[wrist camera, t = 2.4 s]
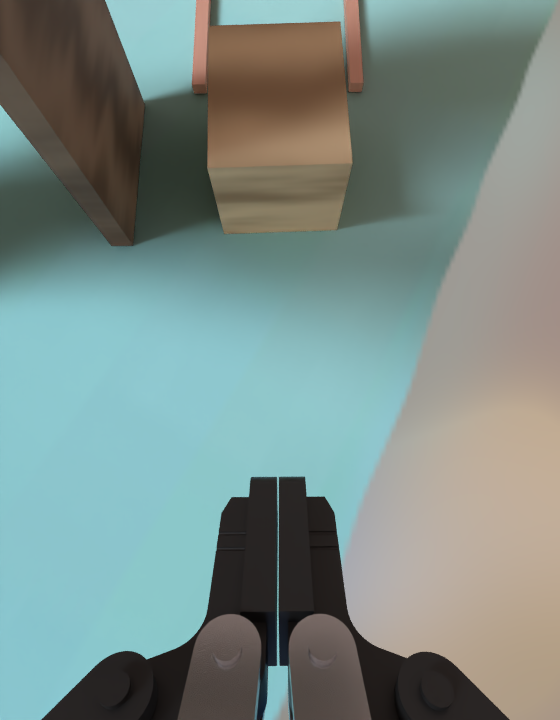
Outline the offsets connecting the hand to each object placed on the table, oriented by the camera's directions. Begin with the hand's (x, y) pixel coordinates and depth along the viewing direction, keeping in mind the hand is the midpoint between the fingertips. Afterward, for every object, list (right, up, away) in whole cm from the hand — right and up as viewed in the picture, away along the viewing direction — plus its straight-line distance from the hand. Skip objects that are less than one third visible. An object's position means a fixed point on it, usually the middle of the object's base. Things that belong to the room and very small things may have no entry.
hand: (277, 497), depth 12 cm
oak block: (0, +18, +19) cm, 26 cm away
